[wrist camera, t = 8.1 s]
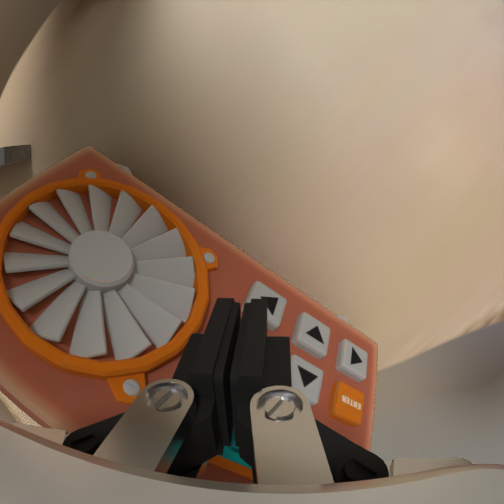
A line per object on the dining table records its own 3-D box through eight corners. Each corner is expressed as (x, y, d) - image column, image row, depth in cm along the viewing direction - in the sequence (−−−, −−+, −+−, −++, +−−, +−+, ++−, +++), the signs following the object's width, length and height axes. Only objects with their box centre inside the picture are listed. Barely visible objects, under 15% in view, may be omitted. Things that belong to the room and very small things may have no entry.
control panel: (387, 322, 19) (361, 563, 7) (319, 364, 23) (270, 551, 12) (106, 126, 16) (-113, 281, 5) (84, 207, 21) (-63, 352, 9)
